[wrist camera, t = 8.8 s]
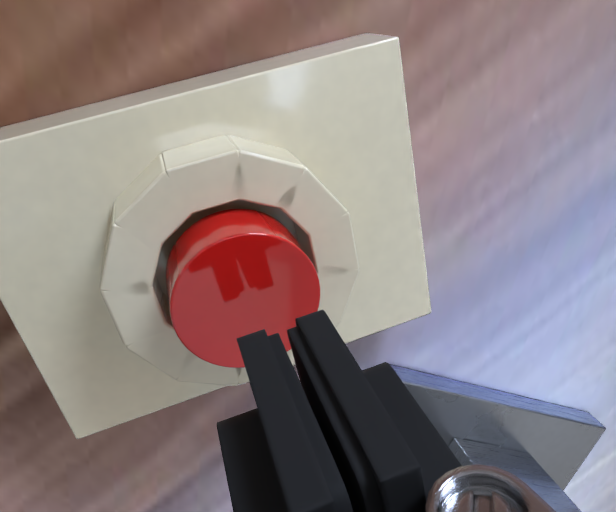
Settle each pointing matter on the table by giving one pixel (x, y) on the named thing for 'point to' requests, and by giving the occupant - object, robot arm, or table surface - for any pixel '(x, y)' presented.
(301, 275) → the button
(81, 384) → the button block
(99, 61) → the table surface
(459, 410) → the lever bracket
